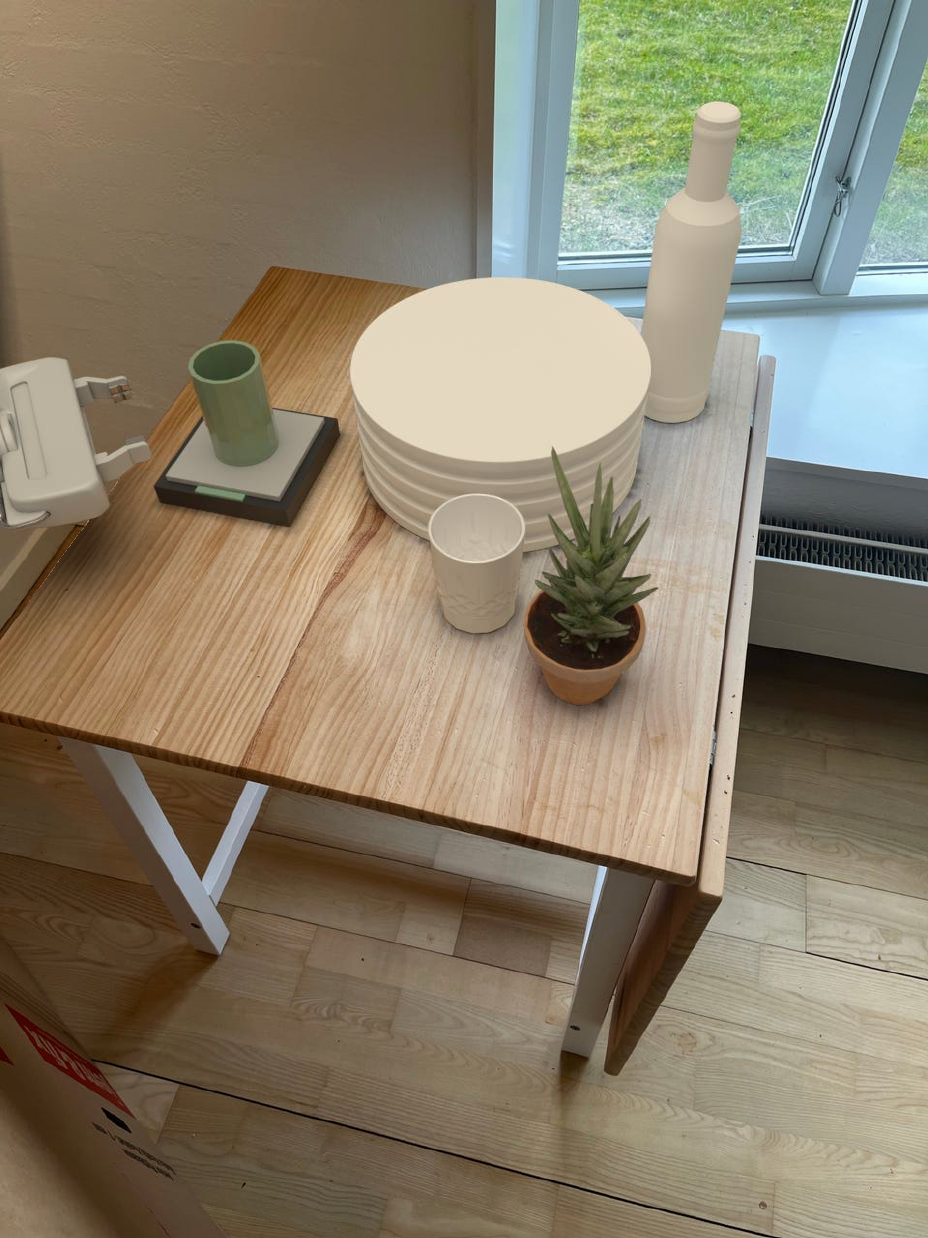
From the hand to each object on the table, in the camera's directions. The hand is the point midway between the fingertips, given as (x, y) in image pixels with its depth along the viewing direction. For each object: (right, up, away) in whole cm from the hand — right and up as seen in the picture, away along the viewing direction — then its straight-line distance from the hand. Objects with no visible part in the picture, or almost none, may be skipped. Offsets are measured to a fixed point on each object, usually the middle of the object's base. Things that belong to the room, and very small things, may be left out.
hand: (139, 415), depth 87 cm
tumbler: (+8, -1, +8) cm, 11 cm away
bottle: (+52, +5, +15) cm, 54 cm away
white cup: (+31, -18, -2) cm, 36 cm away
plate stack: (+34, -2, +10) cm, 35 cm away
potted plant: (+40, -24, -8) cm, 47 cm away
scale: (+8, -3, +10) cm, 13 cm away
